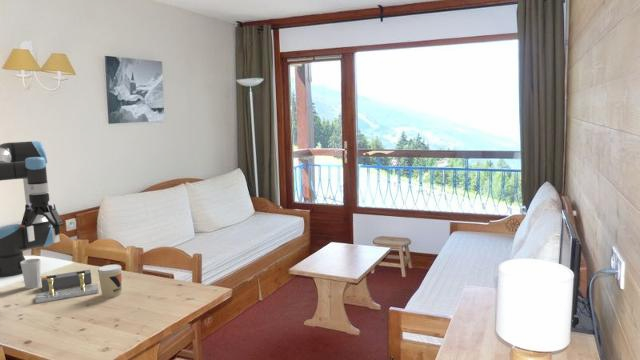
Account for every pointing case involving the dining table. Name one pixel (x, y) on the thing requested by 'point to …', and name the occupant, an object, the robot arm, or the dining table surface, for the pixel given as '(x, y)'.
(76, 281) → the grey rectangular block
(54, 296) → the grey plate brass knobs
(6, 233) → the robot arm
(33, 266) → the cup
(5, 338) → the dining table surface
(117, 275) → the coffee cup
